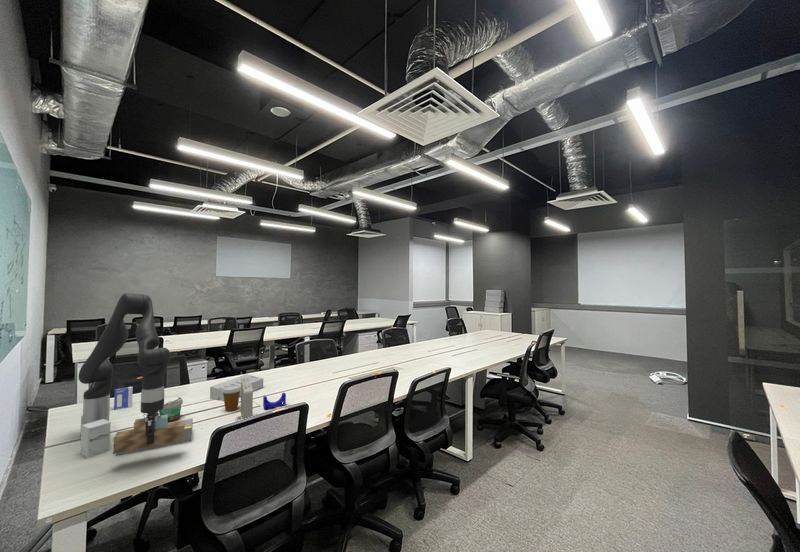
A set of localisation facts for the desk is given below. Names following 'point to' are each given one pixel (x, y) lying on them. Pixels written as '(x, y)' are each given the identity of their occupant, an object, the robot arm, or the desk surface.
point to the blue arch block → (273, 404)
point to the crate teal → (162, 422)
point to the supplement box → (95, 438)
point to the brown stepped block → (139, 440)
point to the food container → (172, 410)
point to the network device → (246, 399)
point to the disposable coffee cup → (231, 397)
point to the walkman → (123, 398)
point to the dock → (187, 438)
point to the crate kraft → (139, 425)
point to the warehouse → (217, 389)
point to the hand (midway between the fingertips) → (151, 440)
